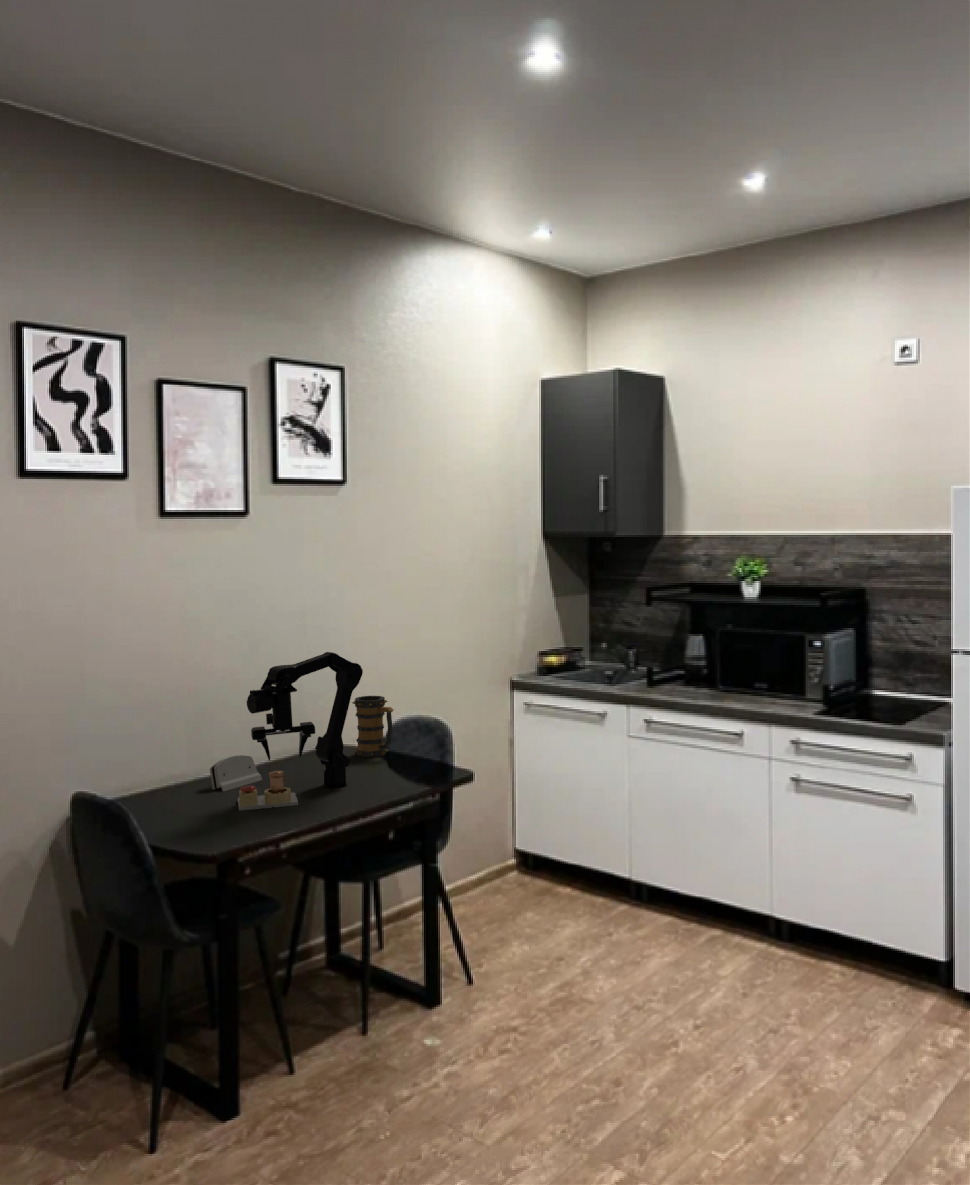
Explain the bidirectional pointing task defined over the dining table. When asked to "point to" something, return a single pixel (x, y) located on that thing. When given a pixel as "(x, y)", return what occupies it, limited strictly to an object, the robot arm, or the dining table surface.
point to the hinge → (234, 772)
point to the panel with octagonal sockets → (264, 798)
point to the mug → (372, 726)
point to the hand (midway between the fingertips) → (284, 758)
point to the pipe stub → (276, 781)
